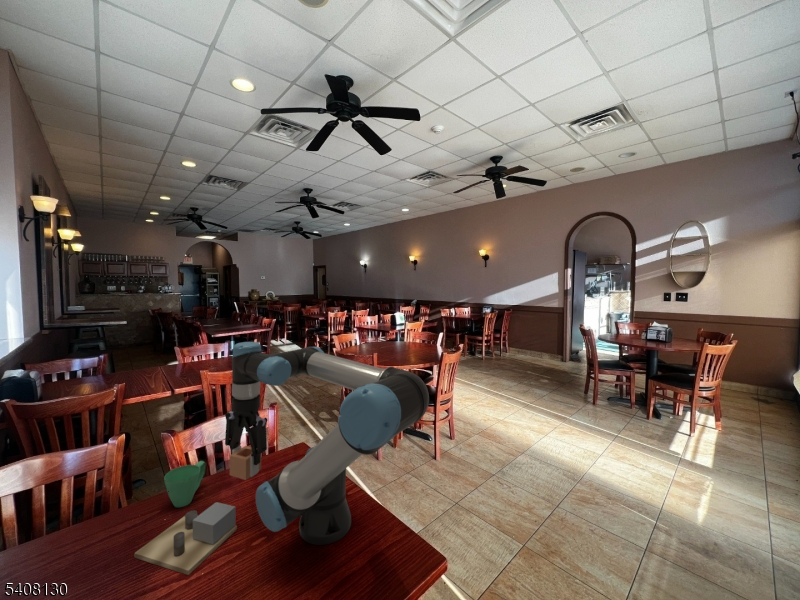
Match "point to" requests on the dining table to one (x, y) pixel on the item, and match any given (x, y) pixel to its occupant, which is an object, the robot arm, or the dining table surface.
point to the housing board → (167, 549)
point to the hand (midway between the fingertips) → (245, 471)
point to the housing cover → (214, 523)
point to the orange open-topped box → (241, 463)
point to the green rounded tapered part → (184, 483)
